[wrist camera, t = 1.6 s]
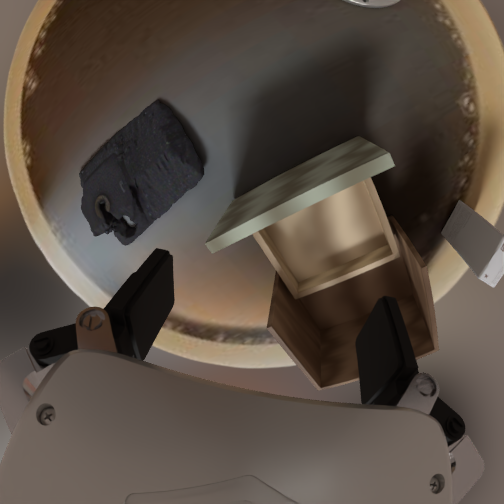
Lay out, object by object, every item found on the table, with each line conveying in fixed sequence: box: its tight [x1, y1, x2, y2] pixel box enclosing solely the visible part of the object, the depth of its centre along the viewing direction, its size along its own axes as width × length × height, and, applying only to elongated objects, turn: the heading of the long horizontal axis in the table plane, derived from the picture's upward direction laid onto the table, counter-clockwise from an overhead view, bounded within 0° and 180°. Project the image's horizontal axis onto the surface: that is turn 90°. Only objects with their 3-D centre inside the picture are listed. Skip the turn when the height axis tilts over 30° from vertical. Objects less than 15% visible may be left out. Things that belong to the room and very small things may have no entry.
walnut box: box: [267, 215, 439, 391], centre depth 33 cm, size 18×15×12 cm
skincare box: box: [441, 200, 504, 287], centre depth 25 cm, size 6×4×12 cm
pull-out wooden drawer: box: [205, 136, 400, 300], centre depth 29 cm, size 18×15×12 cm
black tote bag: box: [79, 100, 204, 245], centre depth 34 cm, size 15×22×5 cm
